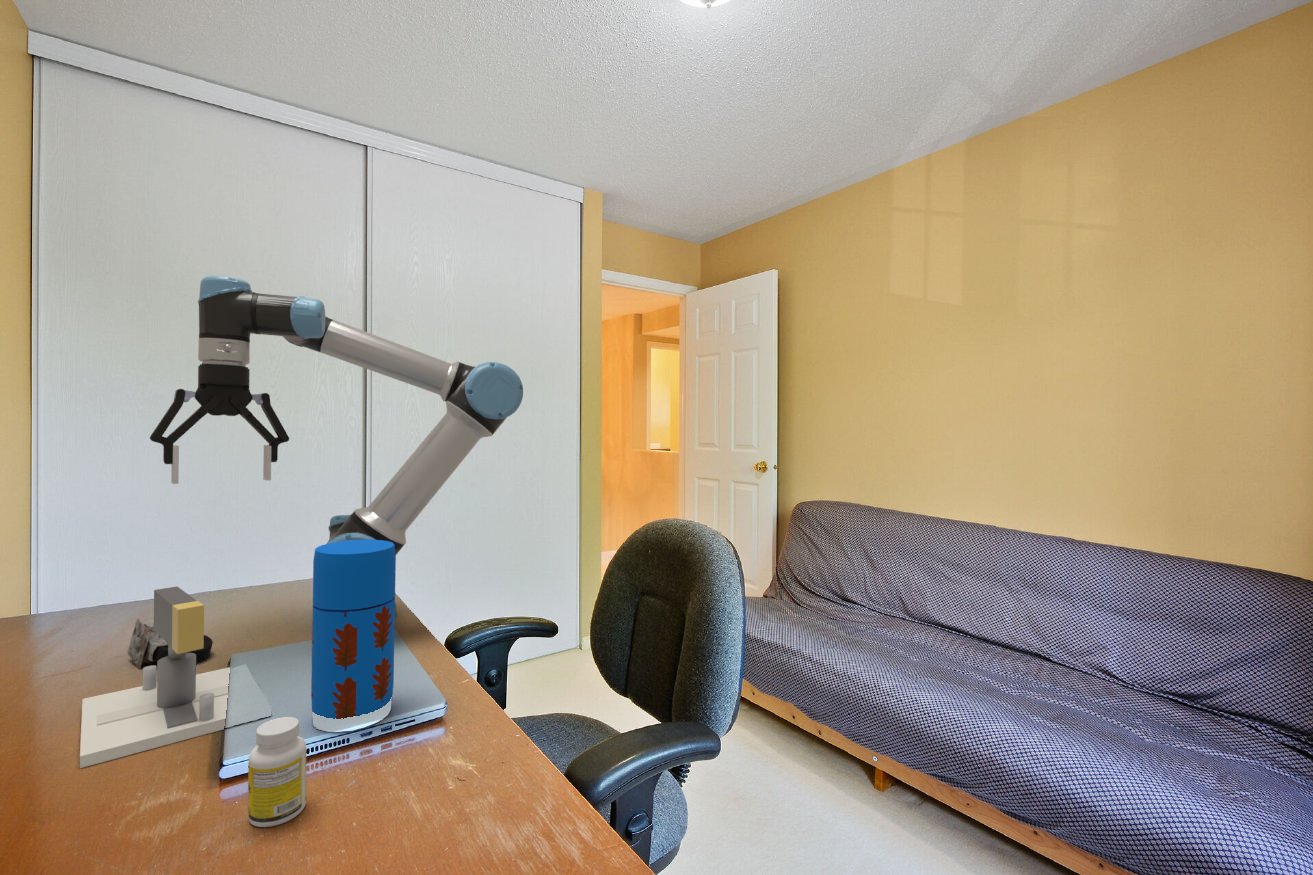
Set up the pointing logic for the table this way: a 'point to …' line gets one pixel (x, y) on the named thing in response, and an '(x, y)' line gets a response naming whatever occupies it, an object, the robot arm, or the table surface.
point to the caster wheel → (157, 645)
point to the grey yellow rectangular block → (178, 621)
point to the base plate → (154, 711)
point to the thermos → (353, 627)
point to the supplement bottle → (277, 773)
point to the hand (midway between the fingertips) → (222, 481)
